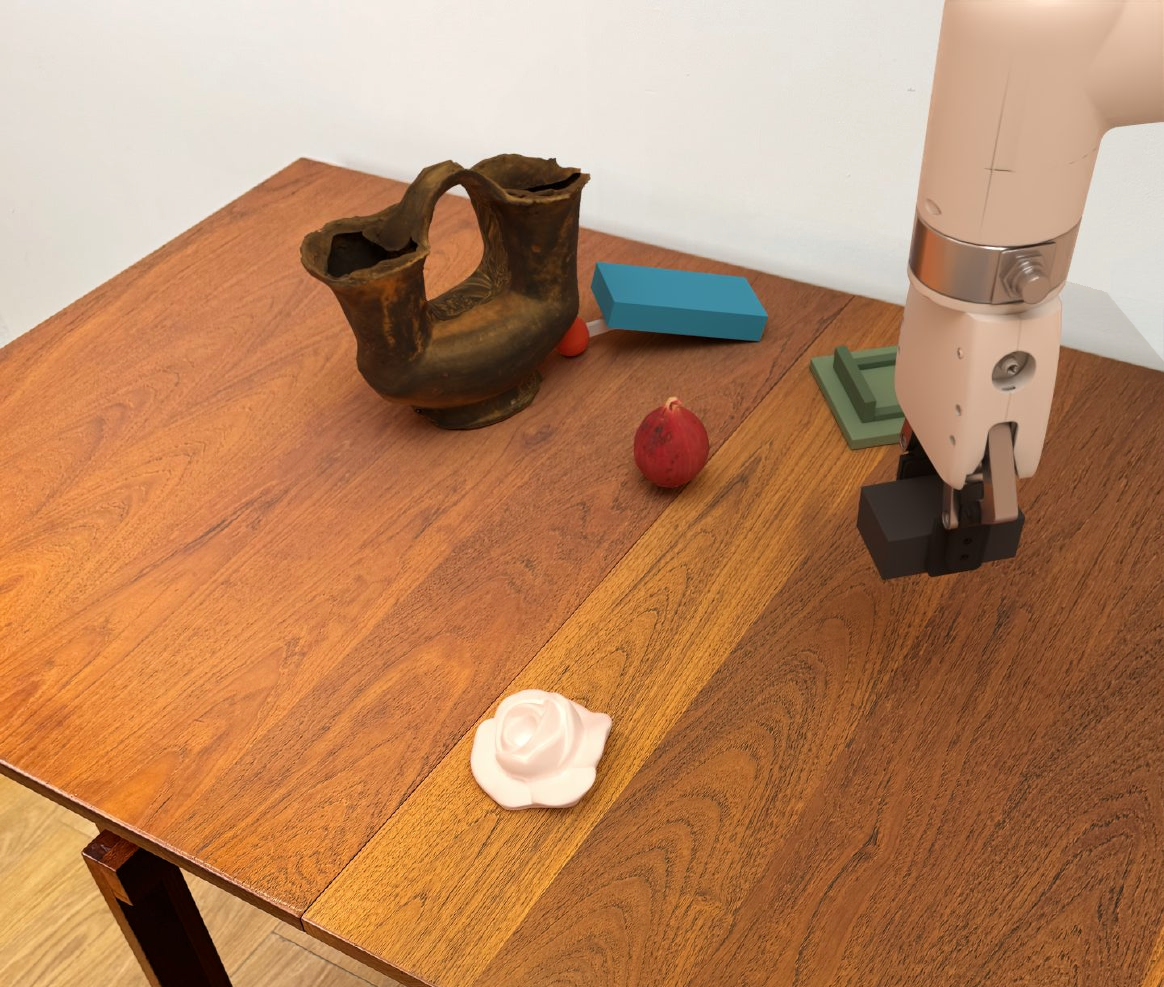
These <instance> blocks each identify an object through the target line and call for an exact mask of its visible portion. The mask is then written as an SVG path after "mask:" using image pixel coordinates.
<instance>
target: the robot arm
mask: <svg viewBox="0 0 1164 987" xmlns="http://www.w3.org/2000/svg"><path fill="white" fill-rule="evenodd" d="M942 8H943V9H942V16H941V22H940V29H939V35H938V36H939V37H938V44H937V51H936V59H935V64H934V71H933V72H934V73H933V80H932V86H931V93H930V101H929V108H928V115H927V121H926V122H927V123H926V130H925V135H924V143H923V144H924V145H923V151H922V159H921V166H920V172H919V181H918V188H917V189H918V190H917V195H916V203H915V210H914V218H913V222H912V231H911V237H910V238H911V239H910V244H909V245H910V246H909V253H908V260H907V266H906V274H907V279H908V281H909V286H908V289H907V290H908V291H907V295H906V300H905V303H904V309H903V314H902V319H901V320H902V321H901V324H900V331H899V336H898V343H897V345H898V349H897V356H896V366H895V392H896V396H897V399H898V402H899V404H900V406H901V408H902V410H903V412H904V414H905V420H904V423H903V426H902V429H901V432H900V438H899V439H900V443H899V447H900V449H901V451H902V452H903V453H902V454H899V458H898V464H897V471H896V477H895V481H897V480H903V479H909V478H915V477H921V476H927V475H933V474H939V475H940V477H941V478H942V479H943V480H944V485H943V504H942V516H940V517H937V518H934V523H933V528H932V533H931V539H930V544H929V550H928V555H927V560H926V566H925V569H926V571H927V573H926V574H927V575H928V577H929V578H936V577H943V576H947V575H954V574H959V573H965V572H970V571H976V570H978V569H980V568H981V567H982V565H983V564H984V563H983V558H984V554H985V550H986V545H987V541H988V537H989V533H990V528H991V524H997V523H1002V522H1008V521H1014V520H1016V519H1017V518H1018V506H1019V504H1018V493H1017V492H1018V491H1017V480H1016V478H1017V479H1018V480H1023V479H1030V478H1033V476H1034V475H1035V473H1036V472H1037V470H1038V467H1039V463H1040V460H1041V457H1042V452H1043V448H1044V444H1045V440H1046V434H1047V430H1048V424H1049V420H1050V419H1049V418H1050V415H1051V409H1052V404H1053V399H1054V393H1055V387H1056V380H1057V374H1058V368H1059V358H1060V351H1061V350H1060V349H1061V338H1062V322H1063V320H1062V319H1063V303H1062V300H1061V298H1060V296H1059V294H1060V293H1061V292H1062V291H1063V289H1064V288H1065V286H1066V283H1067V279H1068V275H1069V272H1070V268H1071V263H1072V259H1073V255H1074V253H1075V252H1074V251H1075V247H1076V243H1077V240H1078V235H1079V231H1080V227H1081V223H1082V219H1083V215H1084V211H1085V207H1086V203H1087V199H1088V195H1089V192H1090V191H1089V190H1090V187H1091V184H1092V183H1091V182H1092V179H1093V176H1094V171H1095V167H1096V162H1097V159H1098V155H1099V151H1100V147H1101V142H1102V139H1103V138H1104V136H1105V135H1106V134H1107V132H1109V131H1111V130H1113V129H1115V128H1123V127H1130V126H1138V125H1146V124H1156V123H1157V124H1158V123H1164V0H944V3H943V7H942ZM905 452H907V453H905ZM978 483H983V484H982V498H981V500H976V501H971V502H967V503H964V504H961V505H960V502H961V489H962V488H963V486H966V485H972V484H978Z"/></svg>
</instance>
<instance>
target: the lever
mask: <svg viewBox="0 0 1164 987" xmlns="http://www.w3.org/2000/svg"><path fill="white" fill-rule="evenodd" d="M590 290H591V293H592V295H593V297H594V299H595V301H596V303H597V306H598V308H599V310H600V314H601V315H602V317H601V318H598V319H594V320H592V321H589V322H585V321H584V319H582V318H580V317H579V316H577V317H576V319H575V321H574V323H573V324H572V326H571V328H570V329H569V330H568V331H567V332H566V334H565V335H564V337H563V338H562V339H561V341H560V343H559V344H558V345H557V346H556V347H555V350H556V351H557V352H558V353H560V354H561V355H563V356H566V357H574V356H575V357H576V356H578V355H580V354H582V353H583V352H585V350H586V349H587V347H588V345H589V342H590V339H591V337H595V336H598V335H601V334H604V333H606V332H610V331H614V330H626V331H637V332H638V331H639V332H649V333H650V332H651V333H661V334H671V335H684V336H695V337H708V338H716V339H717V338H718V339H729V340H741V341H752V342H760V341H761V338H762V336H763V333H764V331H765V327H766V324H767V321H768V318H769V314H768V313H767V311H766V309H765V308H764V306H763V305H762V303H761V301H760V299H759V298H758V296H757V294H756V293H755V291H754V289H753V287H752V286H751V284H750V283H749V281H748V280H747V278H746V277H745V276H735V275H726V274H718V273H709V272H700V271H699V272H698V271H688V270H680V269H672V268H671V269H669V268H661V267H650V266H640V265H633V264H632V265H631V264H621V263H613V262H602V261H596V263H595V267H594V270H593V274H592V279H591V284H590Z"/></svg>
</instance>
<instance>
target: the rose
mask: <svg viewBox="0 0 1164 987" xmlns="http://www.w3.org/2000/svg"><path fill="white" fill-rule="evenodd" d="M493 716H494V717H492V718H488V719H485V720H483V721H482V722H481V723H480V724H479V725H478V727H477V729H476V731H475V735H474V739H473V743H472V744H473V745H472V749H471V751H470V752H471V753H470V767H471V774H472V775H473V777H474V780H475V782H476V783H477V784H478V786H479V787H480V788H481V789H482V790H483V792H485V794H487V795H488V796H489V797H490V798H491V799H492V800H493V801H495V802H496V803H497V804H498V805H499V806H500V807H501V808H502V809H504V810H507V811H521V810H527V809H534V808H539V809H541V808H542V809H543V808H546V809H547V808H549V809H550V808H551V809H552V808H553V809H565V808H566V809H567V808H571V807H574V806H576V805H577V804H578V803H579V802H580V800H581V799H582V798H584V797H585V795H586V794H587V793H588V792H589V791H590V789H591V788H592V786H594V783H595V781H596V778H597V767H598V765H599V762H600V761H601V759H602V757H603V754H604V751H605V746H606V743H607V741H608V738H609V736H610V733H611V730H612V727H613V719H612V717H611V716H610V715H609V714H607V713H606V712H592V711H590V710H589V709H587V708H586V707H584V706H583V705H581V704H579V703H578V702H576V701H574V700H571V699H569V698H566V697H565V696H564V695H562V694H560V693H559V692H555V691H553V692H549V691H546V690H543V689H538V688H530V689H529V688H528V689H523V690H520V691H517V692H516V693H513V694H511V695H509V696H507V697H505V698H504V699H503V700H502V701H501V702H500V703H499V705H498V706H497V708H496V710H495V713H494V715H493Z"/></svg>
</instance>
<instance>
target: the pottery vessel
mask: <svg viewBox="0 0 1164 987" xmlns="http://www.w3.org/2000/svg"><path fill="white" fill-rule="evenodd" d="M581 171H582V168H579V167H573V166H567V167H563V166H561V165H560V164H558V162H557V157H549V158H548V159H545V158H542V157H534V156H525V155H522V154H519V153H500V154H497V155H495V156H491V157H488V158H484V159H482V160H480V161H478V162H477V163H475V164H473V165H472V166H471V167H469V168H465V167H464V166H462V165H461V164H460V163H458V161H455V162H454V161H453V159H446V160H444V161H441V162H438V163H435V164H432V165H429V166H425V167H424V168H422V170H421V171H420V172H419V173H418V174H417V176H416V178H415V179H414V180H413V181H412V182H411V184H409V185H408V187H407V189H406V190H405V192H404V194H403V195H402V198H401V199H400V201H399V202H397V203H393V204H391V205H389V206H387V207H386V208H384V209H382V210H380V211H377V212H376V213H372V214H370V215H364V216H363V215H362V216H361V215H354V216H352V217H342V218H339V219H334V220H331V221H329V222H326V223H324V225H322V227H321V228H319V229H316V230H314V231H310V232H309V233H307V234H306V235H305V236H303V240H302V243H301V245H300V247H299V252H300V255H301V257H300V263H301V265H302V266H303V268H304V270H305V271H306V272H307V273H308V274H309V275H310V276H311V277H313V278H314V279H316V280H318V281H320V282H321V283H322V284H325V285H326V286H327V287H328V288H329V289H330V290H331V291H332V293H333V294H334V296H335V298H336V300H337V301H338V304H339V306H340V307H341V310H342V312H343V314H344V316H345V319H346V321H347V323H348V324H349V326H350V327H351V330H352V332H353V335H354V338H355V341H356V357H355V358H356V360H355V361H356V367H357V370H358V372H359V374H360V375H361V377H362V378H363V379H364V380H365V382H366V383H367V384H368V386H369V387H370V388H371V389H372V390H373V391H374V392H375V393H377V395H378V396H380V398H382V399H383V400H385V401H386V402H389V403H391V404H395V405H396V404H397V405H401V406H402V405H403V406H409V407H410V409H412V410H413V412H414V413H415V415H417V416H419V417H421V418H423V419H425V418H427V419H428V420H429V422H434V424H435V425H436V426H437V427H440V428H444V429H449V430H450V429H465V430H470V429H476V428H482V427H487V426H489V425H492V424H496V423H499V422H502V421H504V420H506V419H508V418H510V417H512V416H513V415H515V414H517V413H519V412H521V411H523V410H524V409H526V407H527V406H529V405H530V404H531V403H532V402H533V400H534V399H535V397H536V394H537V393H538V392H539V391H540V387H541V382H542V378H543V376H542V375H541V373H540V372H539V370H537V369H538V368H539V367H540V366H541V365H542V364H543V362H544V361H545V360H546V359H547V358H548V356H549V355H550V354H551V353H552V352H553V351H554V350H556V348H555V347H556V346H557V345H558V344H559V343H560V341H561V339H562V338H563V337H564V335H565V334H566V332H567V331H568V330H569V329H570V328H571V326H572V324H573V323H574V321H575V319H576V317H578V315H579V314H580V313H579V312H580V292H579V291H580V290H579V281H578V244H579V232H580V214H581V213H580V211H581V202H582V192H583V189H584V188H585V187H586V185H587V184H588V183H589V181H590V180H591V174H590V173H589V172H588V173H585V172H581ZM459 185H460V186H461V187H462V188H463V189H464V190H465V192H466V194H467V195H468V197H469V200H470V204H471V206H472V208H473V211H474V214H475V216H476V220H477V224H478V229H479V232H480V237H481V240H482V243H483V251H482V252H483V253H482V256H481V260H480V262H479V264H478V265H477V267H476V269H475V270H474V271H472V273H471V274H470V275H469V276H468V277H466V278H465V279H464V280H462V281H461V282H459V283H458V284H455V286H452V287H451V288H450V289H448V290H446V291H445V292H443V293H441V294H439V295H438V296H436V297H433V298H430V299H429V300H428V299H427V292H426V283H425V275H424V270H425V264H426V260H427V257H428V256H430V255H431V250H430V249H431V248H432V247H431V244H430V242H429V234H430V227H431V224H432V221H433V219H434V212H435V208H436V206H437V203H438V201H439V200H440V198H441V197H442V196H443V195H445V194H446V193H447V192H448V191H449V190H451V189H452V188H454V187H457V186H459Z"/></svg>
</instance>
